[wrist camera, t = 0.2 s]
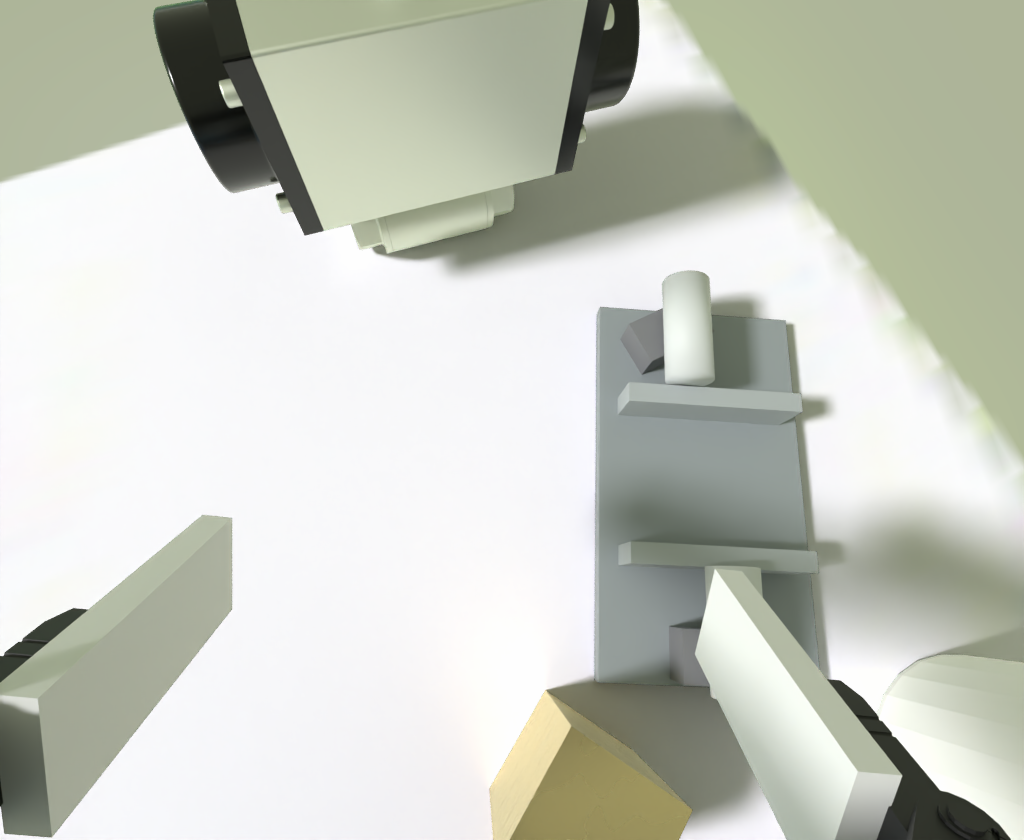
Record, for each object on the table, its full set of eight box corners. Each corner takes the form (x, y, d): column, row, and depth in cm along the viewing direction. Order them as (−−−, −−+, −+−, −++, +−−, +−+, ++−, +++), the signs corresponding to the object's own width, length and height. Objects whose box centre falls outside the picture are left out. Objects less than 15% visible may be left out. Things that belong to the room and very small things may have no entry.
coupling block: (580, 853, 27) (622, 959, 19) (489, 788, 27) (495, 866, 19) (632, 750, 28) (692, 809, 20) (545, 689, 28) (571, 726, 21)
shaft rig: (810, 688, 29) (882, 709, 24) (594, 679, 29) (620, 698, 24) (777, 327, 35) (829, 280, 30) (596, 314, 34) (618, 265, 29)
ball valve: (542, 129, 38) (596, -244, 21) (588, 236, 36) (688, -82, 19) (267, 193, 35) (75, -175, 18) (298, 313, 33) (115, 22, 16)
